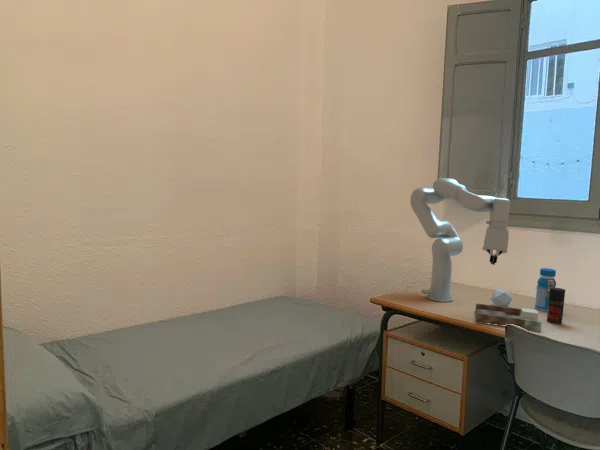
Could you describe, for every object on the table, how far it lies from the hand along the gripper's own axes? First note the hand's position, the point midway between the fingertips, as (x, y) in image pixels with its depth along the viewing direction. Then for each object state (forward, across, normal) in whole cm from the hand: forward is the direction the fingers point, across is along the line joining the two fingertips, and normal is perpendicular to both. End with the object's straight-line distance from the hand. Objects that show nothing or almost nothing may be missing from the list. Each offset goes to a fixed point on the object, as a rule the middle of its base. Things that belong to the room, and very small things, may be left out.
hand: (492, 264), depth 219 cm
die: (+23, +7, +14) cm, 28 cm away
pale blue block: (+20, +17, -11) cm, 29 cm away
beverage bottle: (+23, +27, +20) cm, 40 cm away
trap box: (+22, +8, -11) cm, 26 cm away
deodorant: (+22, +28, -2) cm, 36 cm away
